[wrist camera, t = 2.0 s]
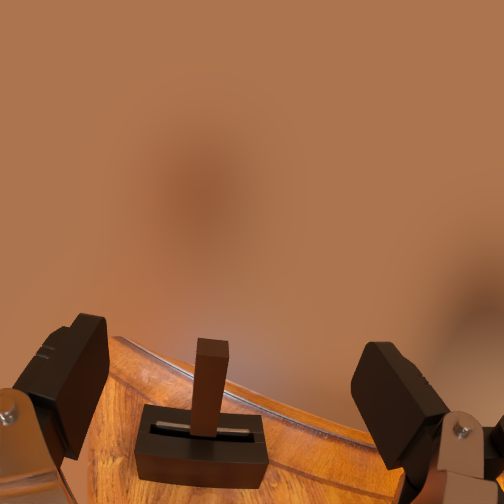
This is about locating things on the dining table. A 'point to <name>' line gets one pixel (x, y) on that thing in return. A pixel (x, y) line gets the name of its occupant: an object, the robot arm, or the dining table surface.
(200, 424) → the knife
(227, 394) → the dining table surface
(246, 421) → the knife stand
